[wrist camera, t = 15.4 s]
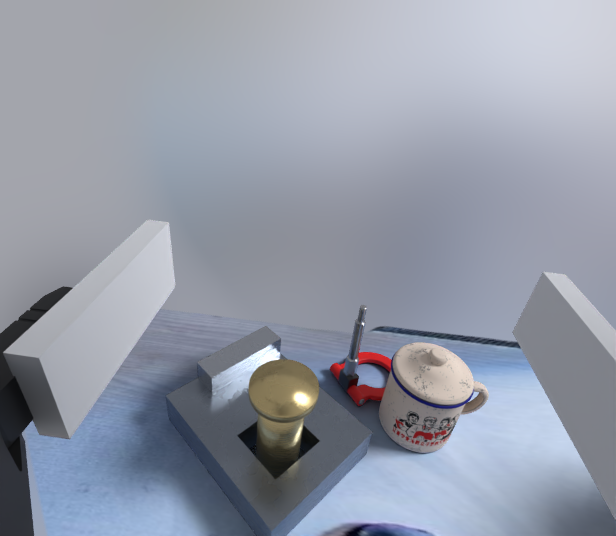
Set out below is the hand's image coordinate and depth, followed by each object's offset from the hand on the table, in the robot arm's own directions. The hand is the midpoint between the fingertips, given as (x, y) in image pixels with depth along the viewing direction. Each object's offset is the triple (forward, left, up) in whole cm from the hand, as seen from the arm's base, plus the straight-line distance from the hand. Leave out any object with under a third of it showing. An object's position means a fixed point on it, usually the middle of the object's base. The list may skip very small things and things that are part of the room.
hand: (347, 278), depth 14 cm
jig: (+13, -8, -32) cm, 36 cm away
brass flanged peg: (+10, -7, -32) cm, 34 cm away
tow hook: (+10, -24, -32) cm, 42 cm away
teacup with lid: (+2, -24, -32) cm, 40 cm away
